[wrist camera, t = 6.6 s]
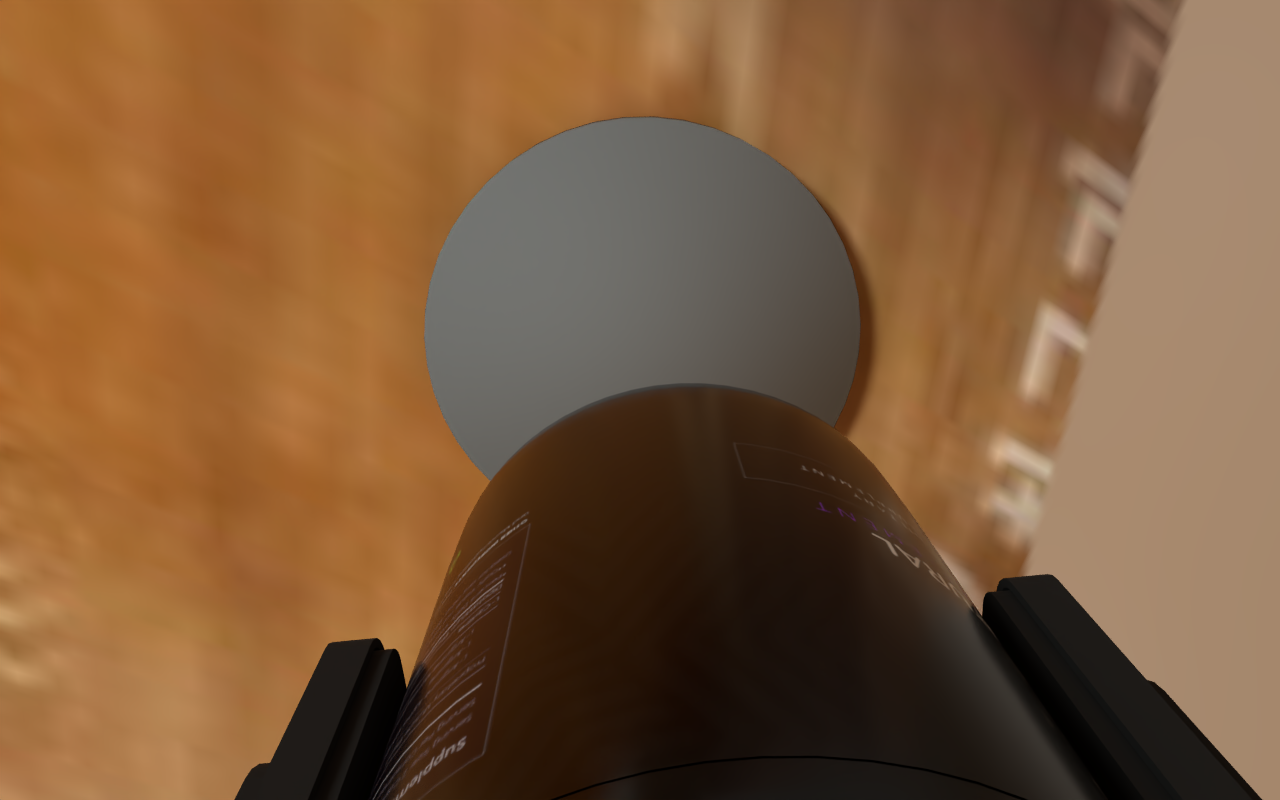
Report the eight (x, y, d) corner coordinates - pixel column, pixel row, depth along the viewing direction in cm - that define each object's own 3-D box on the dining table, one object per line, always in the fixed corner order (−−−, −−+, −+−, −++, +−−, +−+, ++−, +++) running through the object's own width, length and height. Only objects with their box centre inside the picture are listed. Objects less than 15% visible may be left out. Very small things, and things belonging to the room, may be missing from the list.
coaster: (394, 138, 24) (388, 140, 23) (851, 95, 24) (859, 96, 24) (464, 543, 28) (460, 556, 28) (854, 506, 28) (861, 518, 28)
